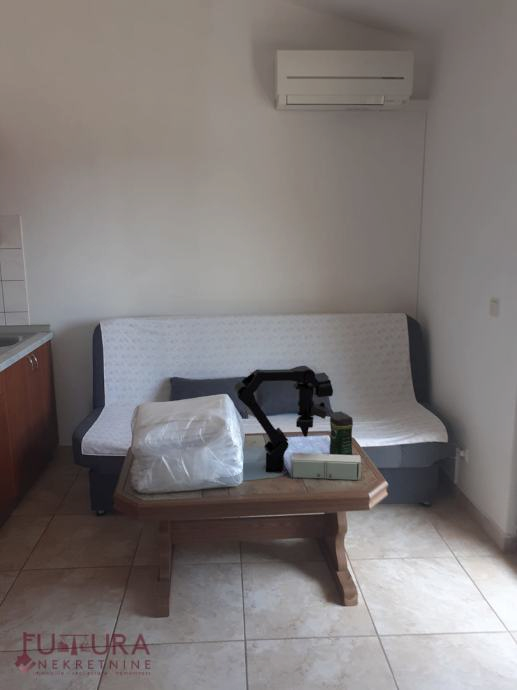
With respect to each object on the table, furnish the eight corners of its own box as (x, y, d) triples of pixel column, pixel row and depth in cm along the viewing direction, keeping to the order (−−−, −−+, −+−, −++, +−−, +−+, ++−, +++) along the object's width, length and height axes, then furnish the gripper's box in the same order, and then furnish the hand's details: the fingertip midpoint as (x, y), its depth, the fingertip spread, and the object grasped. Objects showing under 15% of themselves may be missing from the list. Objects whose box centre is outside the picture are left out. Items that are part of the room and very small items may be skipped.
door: (290, 478, 209) (290, 462, 208) (290, 476, 211) (290, 459, 210) (323, 480, 208) (324, 463, 206) (323, 477, 210) (324, 461, 208)
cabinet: (290, 479, 209) (290, 461, 208) (292, 469, 217) (292, 452, 216) (360, 482, 206) (361, 464, 204) (359, 472, 214) (360, 455, 212)
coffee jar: (355, 459, 225) (356, 416, 221) (337, 462, 222) (338, 419, 218) (343, 450, 234) (344, 408, 230) (326, 453, 231) (327, 411, 227)
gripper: (326, 407, 205) (325, 446, 209) (326, 391, 223) (326, 428, 227) (296, 406, 207) (296, 445, 210) (299, 391, 225) (299, 427, 228)
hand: (305, 436), depth 219 cm, fingers closed
